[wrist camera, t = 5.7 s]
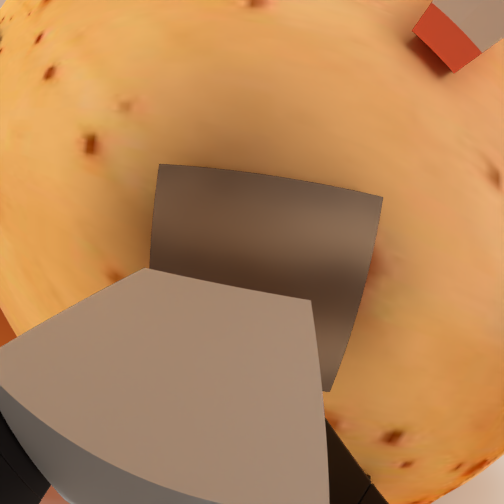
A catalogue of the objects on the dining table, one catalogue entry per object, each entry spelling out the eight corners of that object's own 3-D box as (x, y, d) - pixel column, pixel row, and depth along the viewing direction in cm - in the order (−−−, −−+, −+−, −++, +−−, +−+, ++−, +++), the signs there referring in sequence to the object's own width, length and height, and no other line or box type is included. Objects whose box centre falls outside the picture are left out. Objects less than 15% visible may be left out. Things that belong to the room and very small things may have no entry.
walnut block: (324, 359, 19) (329, 391, 15) (172, 328, 20) (149, 352, 16) (363, 197, 16) (383, 197, 13) (186, 169, 18) (159, 163, 14)
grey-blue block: (276, 422, 8) (253, 569, 3) (148, 389, 9) (65, 500, 3) (310, 300, 7) (329, 514, 2) (144, 267, 8) (-23, 361, 2)
